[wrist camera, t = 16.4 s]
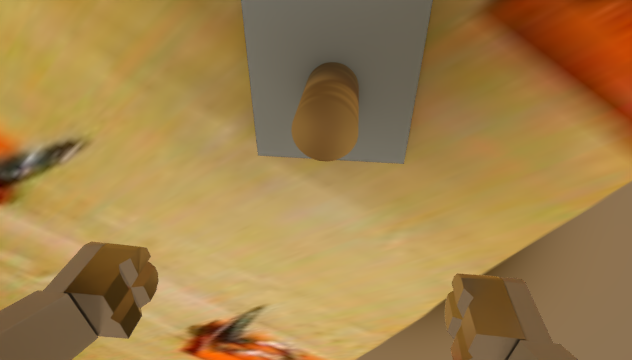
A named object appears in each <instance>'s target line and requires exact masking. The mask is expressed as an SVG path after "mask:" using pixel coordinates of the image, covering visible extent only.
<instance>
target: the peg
mask: <svg viewBox="0 0 632 360" xmlns="http://www.w3.org/2000/svg"><path fill="white" fill-rule="evenodd" d="M358 120H359V84H358V80H357V77H356V75H355V74H354V72H353V71H352V70H351V69H350V68H348V67H347V66H345V65H343V64H341V63H337V62H328V63H324V64H322V65H319V66H318V67H316V68H315V69H314V70H313V71H312V73H311V74H310V76H309V78H308V80H307V83H306V86H305V89H304V92H303V94H302V97H301V100H300V103H299V105H298V108H297V111H296V114H295V117H294V119H293V122H292V129H291V131H292V137H293V140H294V143H295V144H296V146H297V147H298V149H299V150H300V151H301V152H302V153H304V154H305V155H307V156H308V157H310V158H312V159H315V160H319V161H333V160H337V159H340V158H342V157H344V156H345V155H347V154H348V153H349V152H350V151H351V150H352V149H353V148H354V146H355V144H356V142H357V139H358Z"/></svg>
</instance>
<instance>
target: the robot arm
mask: <svg viewBox="0 0 632 360" xmlns="http://www.w3.org/2000/svg"><path fill="white" fill-rule="evenodd" d="M150 257H151V256H150V254H149V252H148V250H147V248H144V247H137V246H128V245H119V244H110V243H100V242H90V243H88V244H86V245H84V246H83V247H82V248H81V249H80V250H79V252H78V253H77V254H76V255H75V256H74V257H73V258H72V259H71V260H70V261H69V263H68V264H67V265H66V266H65V267H64V268H63V269H62V270H61V271H60V273H59V274H58V275H57V276H56V277H55V278H54V279H53V280H52V281H51V283H50V284H49V285H48V286H47V287H46V288H45V289H44V290H43V291H36V292H34V293H32V294H30V295H28V296H26V297H25V298H23V299H21V300H19V301H17V302H15V303H14V304H12V305H10V306H8V307H6V308H4V309H3V310H1V311H0V360H72V359H73V358H74V357H75V356H77V355H78V354H79V353H80V352H81V351H83V350H84V349H85V348H86V347H88V346H89V345H90V344H91V343H92V342H94V341H95V340H96V339H97V338H98V337H97V336H104V337H116V338H127V339H129V337H130V335H131V334H132V332H133V330H134V328H135V327H136V325H137V323H138V322H139V320H140V318H141V317H142V312H141V307H143V306H144V305H145V304H147V303H148V302H150V301H151V299H152V297H153V296H154V294H155V292H156V288H157V284H158V272H157V270H156V267H155V266H153V265H152V264H151V263H150V262H148V260H149V258H150ZM452 286H453V291H452V292H450V293H449V294H448V295H447V299H446V303H445V322H446V327H447V332H448V333H449V334H450V335H451V336H452V337H453V338H454V342H453V344H452V347H451V352H452V357H453V360H578V359H577V358H575V357H574V356H573V355H572V354H571V353H570V352H569V351H567V350H566V349H565V348H564V347H563V346H562V345H561V344H555V343H553V341H552V339H551V337H550V335H549V333H548V330H547V328H546V326H545V324H544V322H543V320H542V318H541V315H540V313H539V311H538V309H537V307H536V304H535V302H534V300H533V298H532V296H531V294H530V291H529V289H528V287H527V285H526V283H525V282H524V281H523V280H522V279H517V278H505V277H497V276H484V275H470V274H456V275H455V276H454V278H453V281H452Z"/></svg>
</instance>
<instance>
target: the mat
mask: <svg viewBox="0 0 632 360" xmlns="http://www.w3.org/2000/svg"><path fill="white" fill-rule="evenodd" d="M432 2H433V0H241V3H242V12H243V21H244V31H245V40H246V49H247V58H248V67H249V77H250V86H251V95H252V104H253V113H254V122H255V132H256V141H257V150H258V155H260V156H277V157H295V158H310V157H308V156H307V155H305V154H304V153H302V152H301V151H300V150H299V149H298V147H297V146H296V144H295V143H294V140H293V137H292V131H291V129H292V122H293V119H294V117H295V114H296V111H297V108H298V105H299V103H300V100H301V97H302V94H303V92H304V89H305V86H306V83H307V80H308V78H309V76H310V74H311V73H312V71H313V70H314V69H315V68H316V67H318V66H319V65H322V64H324V63H328V62H337V63H341V64H343V65H345V66H347V67H348V68H350V69H351V70H352V71H353V72H354V74H355V75H356V77H357V80H358V84H359V120H358V139H357V142H356V144H355V146H354V148H353V149H352V150H351V151H350V152H349V153H348V154H347V155H345V156H344V157H342V158H340V159H337V160H347V161H365V162H382V163H400V164H404V159H405V154H406V148H407V143H408V137H409V131H410V126H411V120H412V114H413V109H414V103H415V97H416V92H417V86H418V81H419V75H420V69H421V64H422V58H423V52H424V47H425V41H426V35H427V30H428V24H429V19H430V13H431V7H432Z"/></svg>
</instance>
